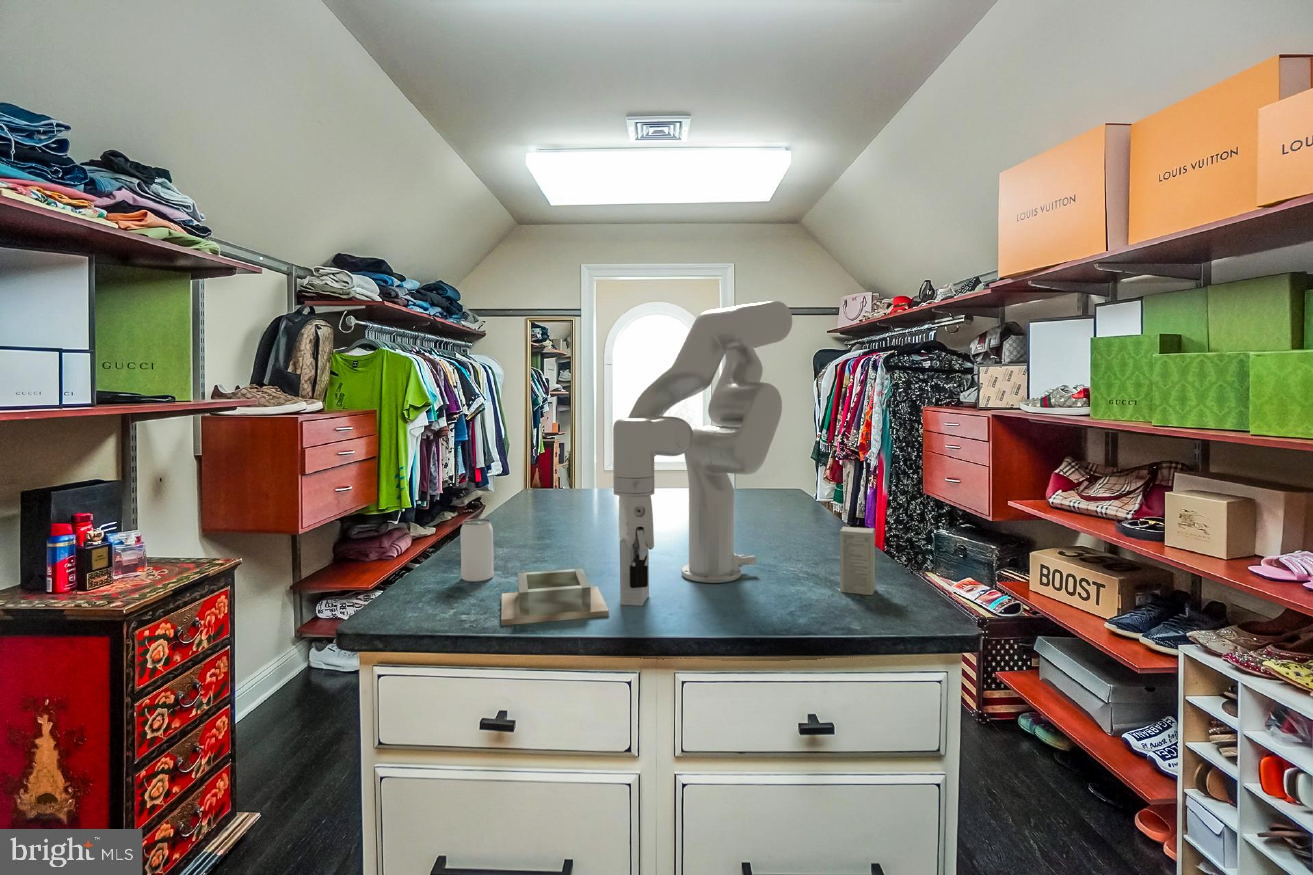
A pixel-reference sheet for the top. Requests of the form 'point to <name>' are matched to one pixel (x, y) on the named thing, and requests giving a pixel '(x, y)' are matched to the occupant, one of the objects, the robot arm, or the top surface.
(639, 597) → the skincare box
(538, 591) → the bottle stand
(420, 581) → the top surface
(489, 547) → the can
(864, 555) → the skincare box
